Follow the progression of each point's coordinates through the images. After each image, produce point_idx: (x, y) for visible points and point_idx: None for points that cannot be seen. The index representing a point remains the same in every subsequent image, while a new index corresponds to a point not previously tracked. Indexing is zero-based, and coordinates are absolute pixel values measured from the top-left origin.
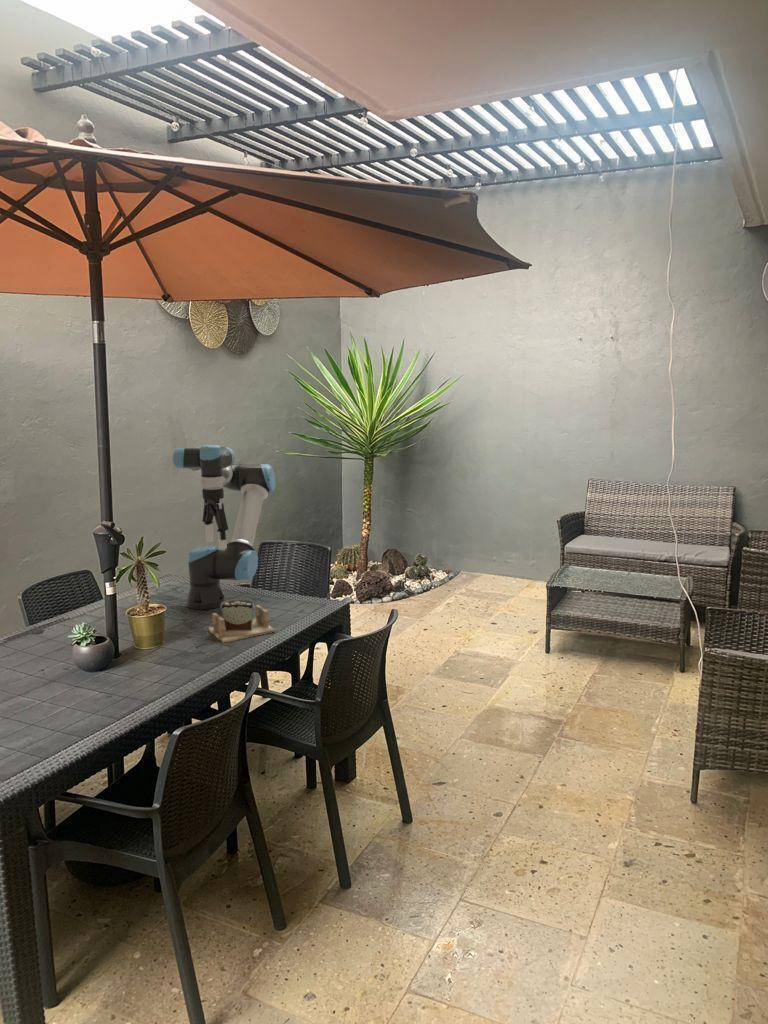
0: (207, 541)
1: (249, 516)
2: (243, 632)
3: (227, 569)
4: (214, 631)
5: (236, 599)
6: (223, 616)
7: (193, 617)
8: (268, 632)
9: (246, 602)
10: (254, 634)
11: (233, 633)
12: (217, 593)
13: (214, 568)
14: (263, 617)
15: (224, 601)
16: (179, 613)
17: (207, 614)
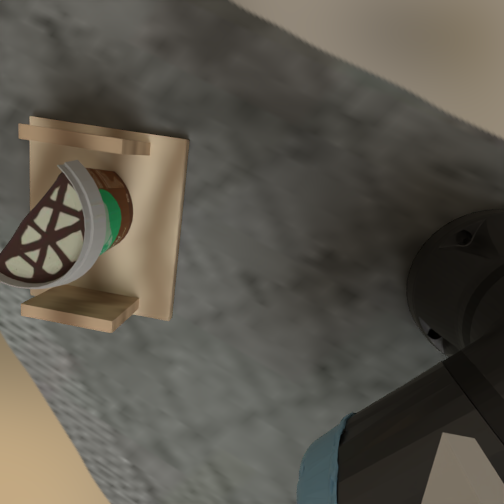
0: (445, 449)
1: None
2: None
3: (382, 415)
4: (129, 136)
5: (80, 252)
6: (89, 169)
7: (366, 166)
8: None
9: (46, 272)
10: None
11: None
12: (437, 325)
13: (461, 372)
14: (54, 297)
15: (76, 192)
16: (462, 145)
17: (358, 225)
